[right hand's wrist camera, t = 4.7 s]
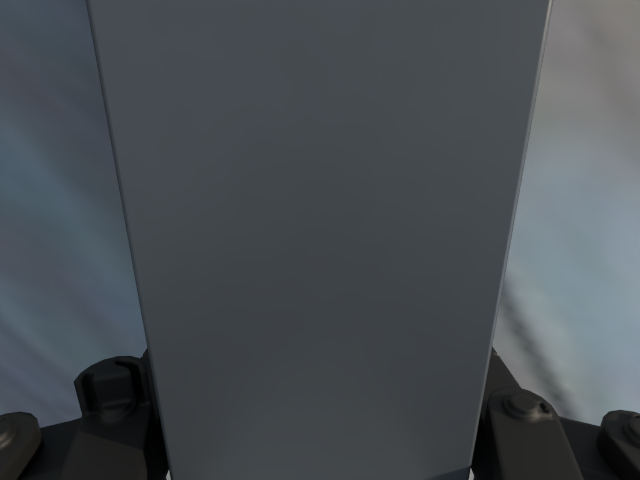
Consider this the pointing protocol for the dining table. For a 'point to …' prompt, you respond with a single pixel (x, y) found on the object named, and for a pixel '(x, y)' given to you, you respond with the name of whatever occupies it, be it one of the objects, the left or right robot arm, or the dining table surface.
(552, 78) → the dining table surface
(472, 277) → the bar
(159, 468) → the right robot arm
